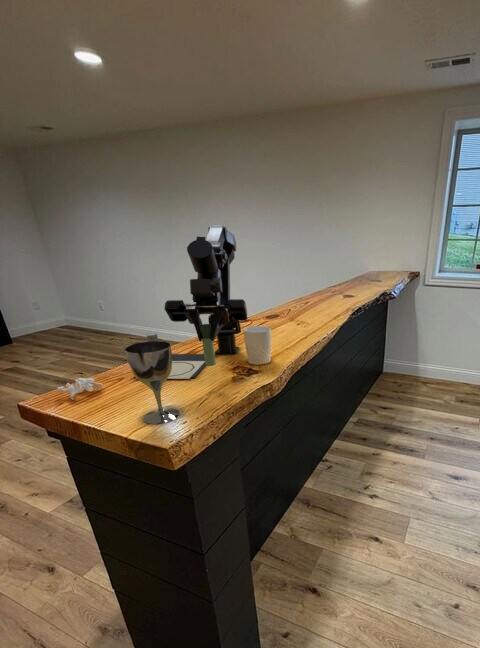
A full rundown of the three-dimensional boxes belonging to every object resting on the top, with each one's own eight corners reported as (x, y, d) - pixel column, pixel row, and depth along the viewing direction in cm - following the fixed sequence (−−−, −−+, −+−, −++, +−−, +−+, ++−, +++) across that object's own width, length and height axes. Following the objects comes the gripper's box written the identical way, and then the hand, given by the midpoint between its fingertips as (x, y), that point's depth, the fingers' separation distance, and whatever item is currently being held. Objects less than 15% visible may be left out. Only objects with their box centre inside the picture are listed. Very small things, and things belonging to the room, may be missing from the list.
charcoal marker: (158, 367, 99) (151, 332, 95) (165, 368, 98) (158, 333, 94) (151, 369, 97) (144, 334, 93) (158, 371, 96) (151, 335, 92)
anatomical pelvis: (87, 371, 86) (103, 373, 83) (92, 387, 87) (108, 390, 84) (51, 382, 79) (68, 385, 76) (57, 399, 80) (74, 402, 78)
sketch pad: (164, 354, 110) (164, 353, 110) (215, 355, 110) (214, 353, 110) (131, 379, 91) (131, 378, 91) (193, 379, 91) (193, 378, 91)
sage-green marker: (208, 362, 88) (202, 323, 84) (217, 363, 87) (212, 324, 83) (203, 366, 85) (198, 326, 81) (213, 366, 85) (208, 326, 81)
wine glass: (131, 420, 71) (114, 350, 65) (161, 404, 77) (148, 339, 72) (162, 428, 68) (148, 355, 62) (190, 410, 75) (179, 343, 69)
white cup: (267, 366, 101) (265, 333, 97) (241, 364, 102) (238, 331, 98) (275, 358, 108) (274, 326, 104) (252, 356, 110) (249, 325, 106)
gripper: (159, 264, 80) (152, 323, 74) (242, 264, 82) (241, 321, 76) (174, 294, 90) (169, 347, 84) (247, 293, 92) (247, 345, 86)
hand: (206, 340), depth 82 cm, fingers closed on sage-green marker, 2 cm apart
